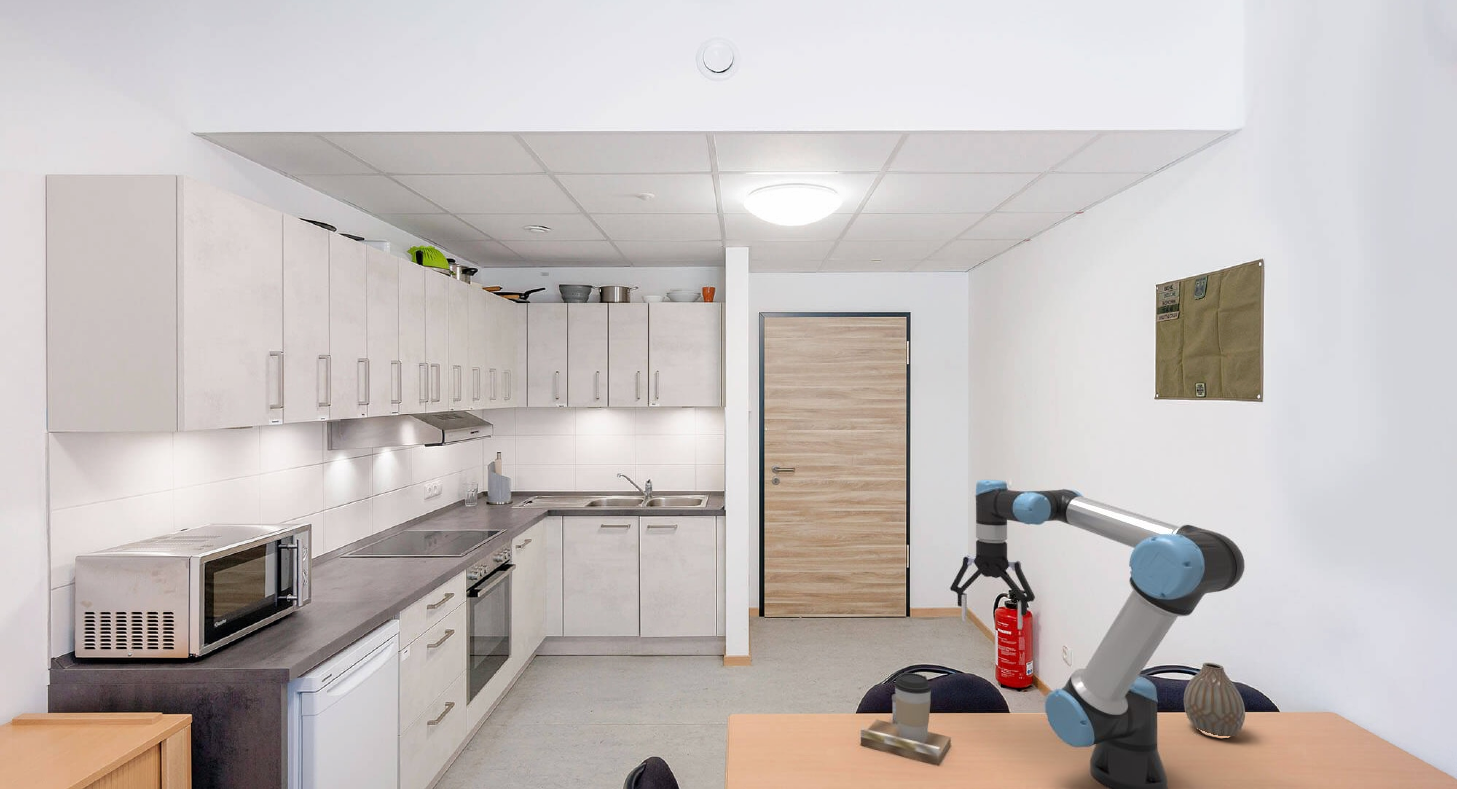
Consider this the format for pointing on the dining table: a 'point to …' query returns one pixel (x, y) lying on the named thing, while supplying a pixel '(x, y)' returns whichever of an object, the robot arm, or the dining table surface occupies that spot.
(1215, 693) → the vase
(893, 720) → the tea tin
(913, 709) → the coffee cup
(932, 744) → the small brown box
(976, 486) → the robot arm
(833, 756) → the dining table surface
